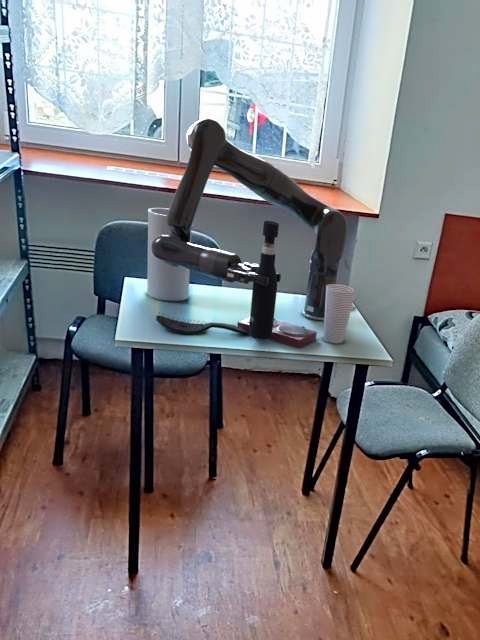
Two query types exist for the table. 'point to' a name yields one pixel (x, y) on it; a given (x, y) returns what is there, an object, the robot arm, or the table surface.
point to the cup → (337, 311)
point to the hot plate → (286, 333)
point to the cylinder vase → (164, 264)
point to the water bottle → (265, 288)
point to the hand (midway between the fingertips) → (273, 279)
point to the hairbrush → (194, 326)
